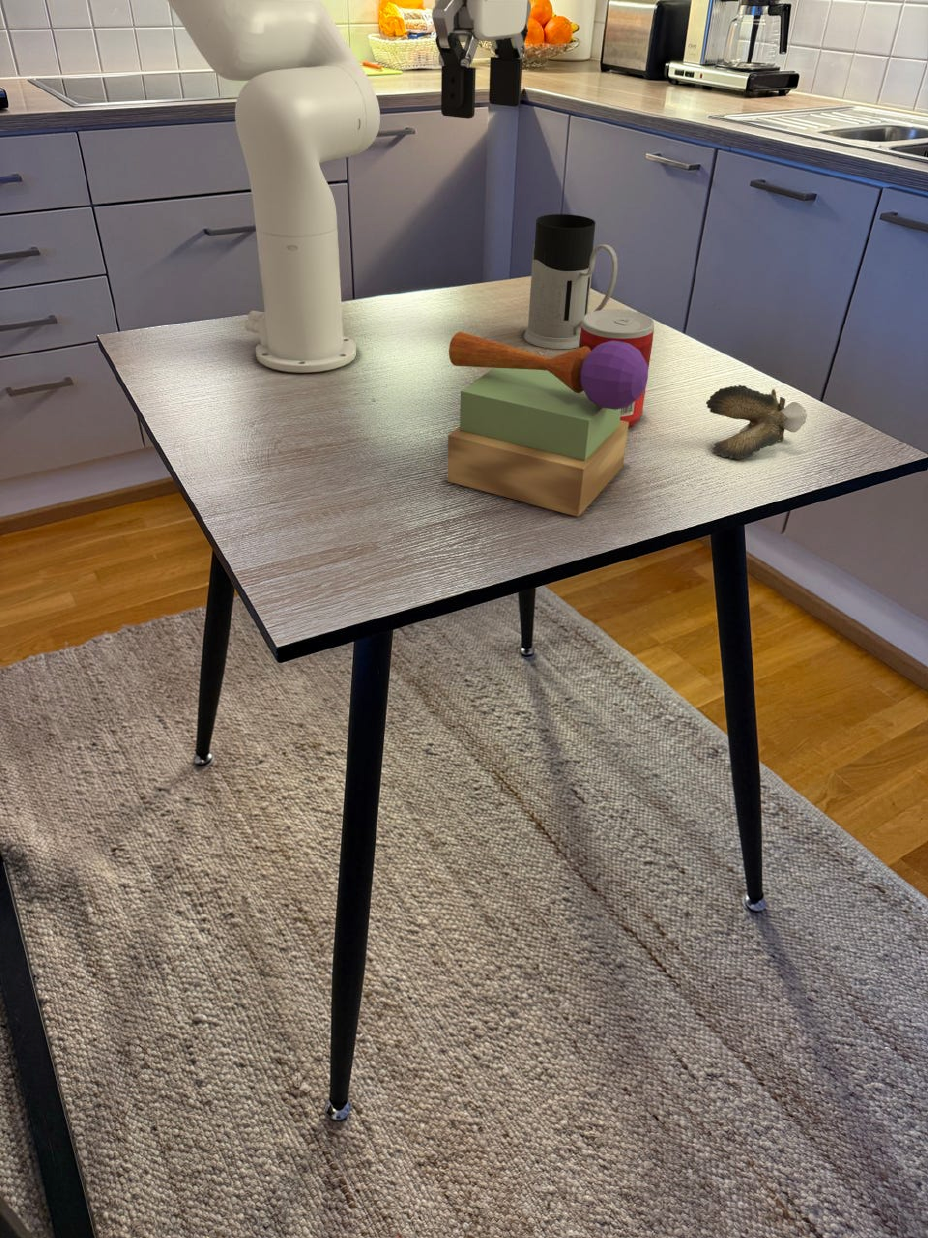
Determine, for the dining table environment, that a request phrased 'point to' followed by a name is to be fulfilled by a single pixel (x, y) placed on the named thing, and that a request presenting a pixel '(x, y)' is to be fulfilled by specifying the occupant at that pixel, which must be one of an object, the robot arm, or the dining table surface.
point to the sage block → (535, 413)
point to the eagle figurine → (754, 419)
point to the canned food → (622, 329)
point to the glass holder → (562, 279)
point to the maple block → (534, 470)
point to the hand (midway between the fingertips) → (482, 110)
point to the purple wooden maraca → (566, 367)
